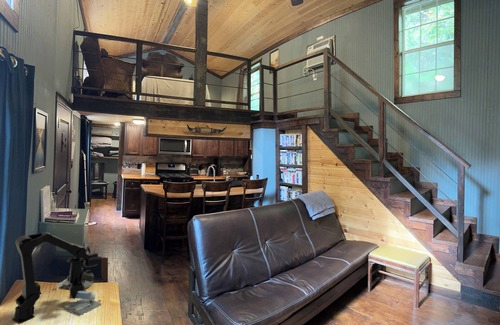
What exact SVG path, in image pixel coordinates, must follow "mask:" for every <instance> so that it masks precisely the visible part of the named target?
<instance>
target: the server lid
mask: <svg viewBox="0 0 500 325" xmlns="http://www.w3.org/2000/svg"><path fill="white" fill-rule="evenodd" d="M100 306H102V302H99V301H97V300H95V299H94V300H89V299H80V298H79V299H78V300H76V301H74V302H71V303H69V304H67V305H65V306H64V310H66V311H68V312H71V313H73V314H76V315H79V316H80V315H81V316H83V315H84V313H85V314H87V313H88V312H91V311H92V310H94V309H97V308H99V307H100ZM82 314H83V315H82Z"/></svg>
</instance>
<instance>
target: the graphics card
mask: <svg viewBox="0 0 500 325" xmlns="http://www.w3.org/2000/svg"><path fill="white" fill-rule="evenodd" d="M81 283H83V284H84V290H87V289H88V288H90V287H91V286H92V285H93V284H94V281H93V280H92V282H89V281H84V280H83V282H81ZM68 284H70V282H69V281H68V282H67V278H66V279H64V280H63V281H60V282H59V283H57V285H56V289H55V291H56V290H59V289H69V287H68Z"/></svg>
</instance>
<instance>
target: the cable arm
mask: <svg viewBox="0 0 500 325" xmlns="http://www.w3.org/2000/svg"><path fill="white" fill-rule="evenodd" d="M96 293H97V292H96V291H95V290H94V291H93V290H91V291H84V290H83V291H78V292H77V295H76V297H75V299H79V300H80V299H89V300H94V301H95V299H96ZM69 299H73V298H72V295H71V293H70V292H69Z"/></svg>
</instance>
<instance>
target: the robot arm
mask: <svg viewBox="0 0 500 325" xmlns="http://www.w3.org/2000/svg"><path fill="white" fill-rule="evenodd" d="M43 243H49V244H51V245H53V246H55V247H58V248H60V249H62V250H64V251H67V252H68V253H69V254H70V255H72V256H73V257H72V256H70V257H69V258H68V259H66V262H68V263H69V264H70V270H69V275H67V278H66V279H67V280H66V281H67V282H68V281H69V282H70V284H68V287H69V288H68V290H69V294H70V293H71V295H72V298H71V299H72V300H75V299H76V298H75V297H76V295H77V292H78V291H84V290H85V289H84V284H83V283H81V282H83V280H84V281H89V282H92V281H93V280H94V277H95V275H94V273H93V272H92V271H91V269H87V270H85V271H84V268H92V267H96V266H99V263H100V258H99V254H98V253H97V252H94V253H89V254H88V253H87V248H85V247H84V246H83V245H80V244H77V243H73V242H69V241H66V240H64V239H62V238H60V237H58V236H56V235H53V234H51V233H50V232H48V231H43V232H41V233H40V232H39V233H34V234H33V233H32V234H29V235H21V236H19V237H17V238H16V240H15V246H16V249H17V251H18V253H19V255H20V260H21V263H20V264H21V269H22V277H23V286H22V288H21V294H20V295H19V296H17V298H15V299H14V301H15V304H16V305H17V306H16V307H15V308H14V317H12V318H11V320H12V321H14V322H17V323H18V324H22V323H25V322H27V321H29V320H32V319H33V318H35V305H36V303H37V301H38V300H39V299H40V298H41V295H42V292H41V285H40V284H39V282H38V281H35V280H36V279H35V270H34V264H33V263H34V262H33V253H34V250H35V247H38V246H40V245H42V244H43Z"/></svg>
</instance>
